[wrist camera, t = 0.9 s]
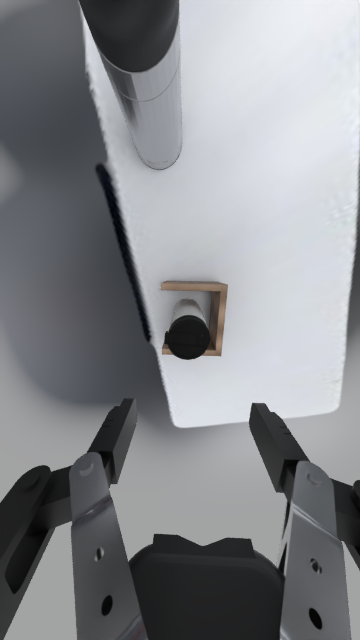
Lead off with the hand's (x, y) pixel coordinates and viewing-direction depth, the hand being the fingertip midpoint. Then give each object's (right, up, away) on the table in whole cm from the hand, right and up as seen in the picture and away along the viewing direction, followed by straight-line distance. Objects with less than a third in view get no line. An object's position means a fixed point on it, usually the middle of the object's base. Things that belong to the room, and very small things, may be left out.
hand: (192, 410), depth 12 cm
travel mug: (+1, +9, +31) cm, 32 cm away
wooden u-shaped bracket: (+1, +9, +31) cm, 32 cm away
